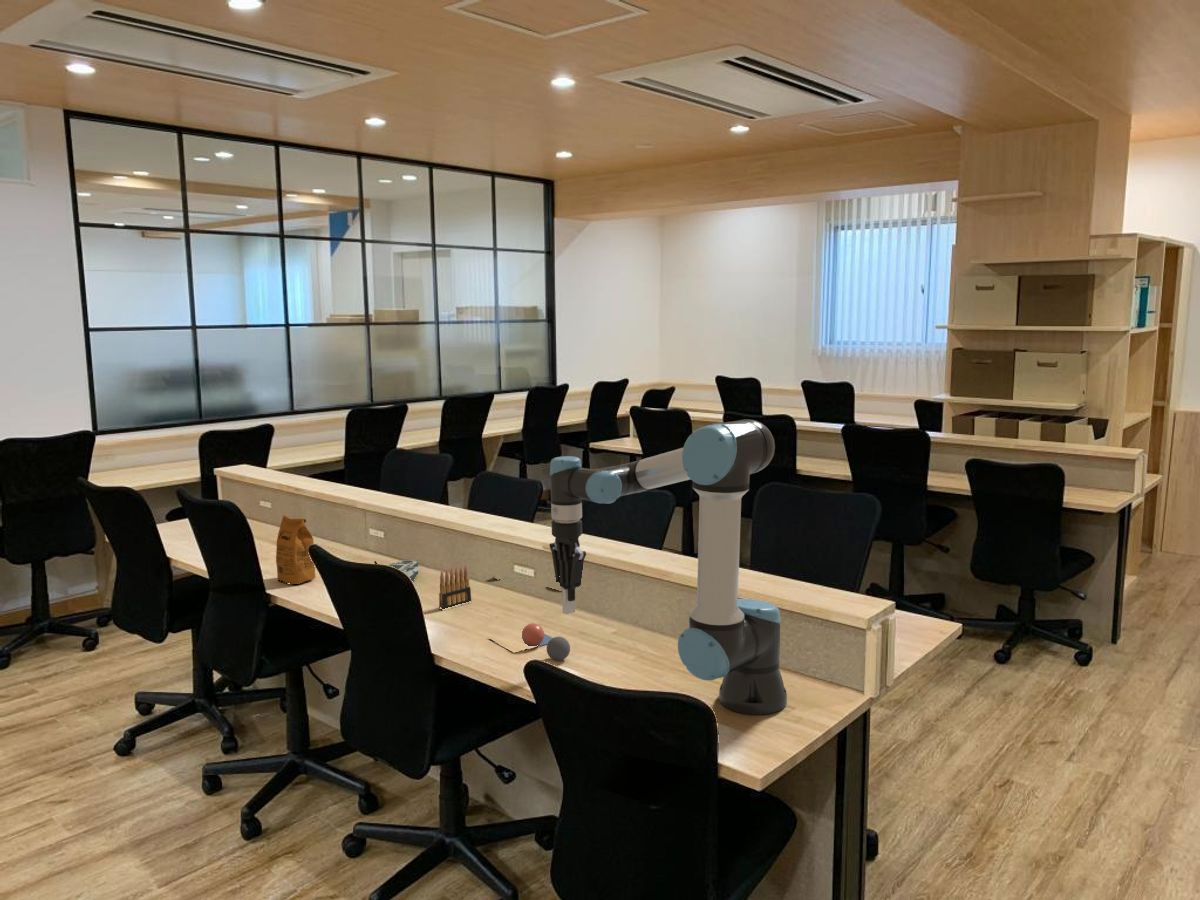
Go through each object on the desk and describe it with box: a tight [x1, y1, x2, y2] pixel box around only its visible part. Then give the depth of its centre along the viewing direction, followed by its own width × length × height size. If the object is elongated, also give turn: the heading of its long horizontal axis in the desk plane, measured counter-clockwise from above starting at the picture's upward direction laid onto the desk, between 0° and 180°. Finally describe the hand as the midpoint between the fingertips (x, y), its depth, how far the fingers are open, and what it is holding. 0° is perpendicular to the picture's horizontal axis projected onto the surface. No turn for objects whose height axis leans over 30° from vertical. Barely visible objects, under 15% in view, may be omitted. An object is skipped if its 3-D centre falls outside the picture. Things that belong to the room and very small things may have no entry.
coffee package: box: [275, 514, 316, 585], centre depth 306 cm, size 10×12×22 cm
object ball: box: [522, 622, 545, 646], centre depth 244 cm, size 6×6×6 cm
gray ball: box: [546, 636, 571, 661], centre depth 233 cm, size 6×6×6 cm
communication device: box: [373, 559, 420, 583], centre depth 309 cm, size 12×24×9 cm, turn 176°
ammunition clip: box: [438, 564, 472, 609], centre depth 277 cm, size 11×2×12 cm, turn 135°
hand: (568, 612), depth 228 cm, fingers closed
